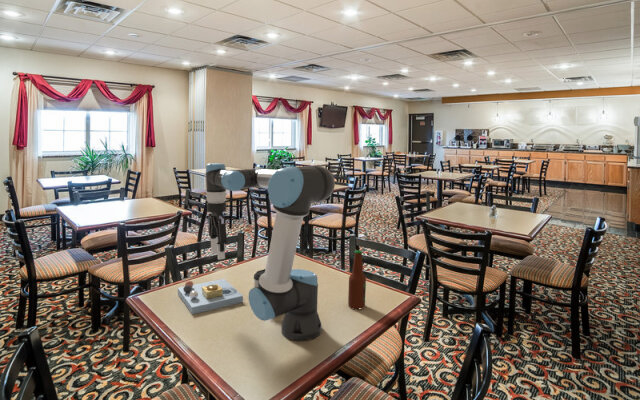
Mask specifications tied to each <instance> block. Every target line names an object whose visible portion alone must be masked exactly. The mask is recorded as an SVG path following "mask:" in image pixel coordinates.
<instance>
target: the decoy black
mask: <svg viewBox="0 0 640 400" xmlns="http://www.w3.org/2000/svg"><path fill="white" fill-rule="evenodd" d="M184 286H185V285H184ZM184 286H183V287H184ZM183 290H184V292H185V293H189V292H191V290H192V287H191V286H190V285H186V286H185V287H184V289H183Z"/></svg>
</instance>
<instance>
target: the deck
mask: <svg viewBox="0 0 640 400" xmlns="http://www.w3.org/2000/svg"><path fill="white" fill-rule="evenodd" d="M215 284H218V285H219V286H220V287H221V288H222V289H223V296H219V297H214V298H210V299H206V298H205V296H204V295H203V294H202V287H205V286H209V285H215ZM184 287H185V285H184V286H180V287H177V295H178V296H179V298H180V299H181V300H182V302H183V304H184V305H185V306H186V307H187V309H188V310H189V312H190V313H191V315H196V314H200V313H203V312H208V311H211V310H212V311H213V310H217V309H220V308H225V307H229V306H232V305H237V304H241V303H244V296H243V294H241V292H239V291H238V290H237V289H236V288H235V287H234V286H233V285H232V284H230V283H229V282H228V281H227V280H226V279H225V278H222V279H216V280H211V281H210V280H209V281H206V282H201V283H196V284H193V286H192V290H191V292H192V291H197V293H198V297H197V298H196V299H191V298H190V293H191V292H189V293H185V292H184V290H183V289H184Z"/></svg>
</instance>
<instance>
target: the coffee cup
mask: <svg viewBox="0 0 640 400" xmlns="http://www.w3.org/2000/svg"><path fill="white" fill-rule="evenodd" d="M265 269H266V268H263V269H260V270H257V271H256V272H255V273H254V274H253V281H254V282H253V286H254V287H257V286H258V281H259V277H260V276H261V275H262V274H264V273H265ZM254 287H253V288H254Z"/></svg>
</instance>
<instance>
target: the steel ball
mask: <svg viewBox="0 0 640 400" xmlns="http://www.w3.org/2000/svg"><path fill="white" fill-rule="evenodd" d="M197 297H198V293H197V291H192V292H191V293H190V298H191V299H196V298H197Z"/></svg>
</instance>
